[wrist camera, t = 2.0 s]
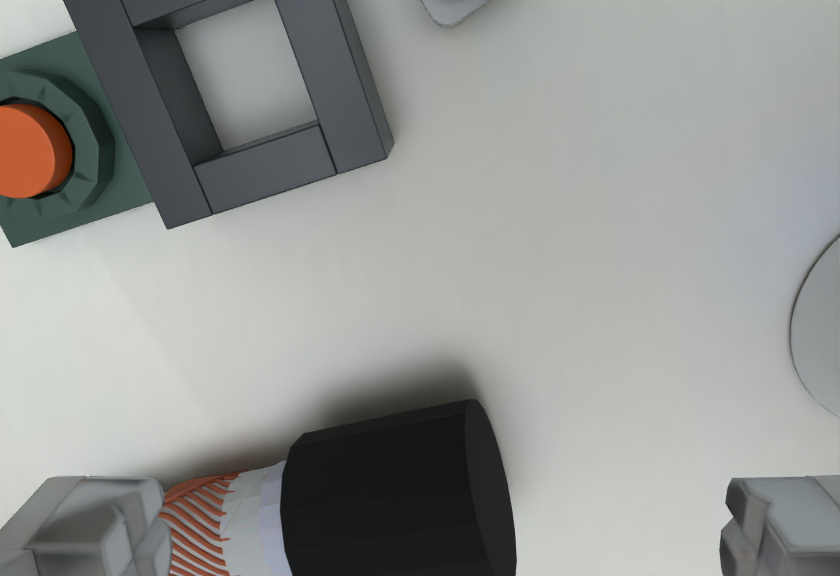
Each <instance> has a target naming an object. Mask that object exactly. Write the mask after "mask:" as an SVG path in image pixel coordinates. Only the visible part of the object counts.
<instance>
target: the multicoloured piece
mask: <svg viewBox="0 0 840 576" xmlns="http://www.w3.org/2000/svg"><path fill="white" fill-rule="evenodd" d="M164 497H165V502H166V503H165V504H164V506H163V508H162V509H161V511H160V513H159V514H158V516H159V517H160V518H161V519H162V520H163V521H164V522H165V523H166V524H167V525H168V526H169V527H170V530H171V536H172V542H173V557H172V564H171V568H170V572H169V576H515V575H516V564H517V557H516V540H515V528H514V520H513V513H512V506H511V501H510V495H509V490H508V484H507V479H506V475H505V471H504V467H503V463H502V459H501V455H500V451H499V448H498V445H497V442H496V439H495V436H494V433H493V430H492V427H491V424H490V421H489V419H488V417H487V415H486V413H485V411H484V409H483V407H482V406H481V405H480V403H479V402H478V400H477V399H466V400H461V401H457V402H452V403H447V404H442V405H438V406H433V407H428V408H423V409H418V410H414V411H409V412H404V413H399V414H394V415H390V416H385V417H380V418H375V419H370V420H366V421H361V422H356V423H351V424H347V425H342V426H337V427H332V428H327V429H323V430H318V431H313V432H308V433H304V434H303V435H302V436H301V437H300V438H299V439H298V440H297V441H296V442H295V443H294V444H293V445H292V446H291V448H290V451H289V454H288V457H287V460H285V461H280V462H279V463H277V464H276V465H274V466H270V467H266V468H261V469H257V470H252V471H250V470H246V471H240V472H233V473H230V474H226V475H219V476H207V477H200V478H195V479H190V480H187V481H184V482H182V483H179V484H177V485H174V486H173V487H172V488H171V489H170V490H169V491H168V492H166V493H164Z"/></svg>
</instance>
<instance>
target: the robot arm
mask: <svg viewBox="0 0 840 576" xmlns="http://www.w3.org/2000/svg"><path fill="white" fill-rule="evenodd" d="M791 350H792V356H793V361H794V364H795V367H796V370H797V372H798V375H799V377H800V379H801V381H802V383H803V384H804V386H805V387H806V389H807V390H808V392H809V393H810V394H811V395H812V396H813V398H814V399H815V400H816V401H817V402H818V403H819V404H821V405H822V406H823V407H824V408H825V409H827V410H828V411H830V412H831V413H833V414H834V415H836V416H838V417H840V237H839V238H838V239H837V240H836V241H835V242H834V243H833V244H832V245H831V246H830V247H829V248H828V249H827V250H826V251H825V253H824V254H823V255H822V256H821V257H820V259H819V260H818V262H817V263H816V264H815V266H814V267H813V269H812V270H811V272H810V273H809V275H808V277H807V279H806V281H805V282H804V284H803V286H802V289H801V291H800V293H799V296H798V299H797V301H796V305H795V308H794V312H793V317H792V323H791ZM165 503H166V502H165V497H164V493H163V488H162V484H161V482H159V481H158V480H157V479H156V478H155V477H109V476H89V477H86V476H56V477H52V478H49V479H47V480H46V481H45V482H44V483H43V484H42V485H41V486H40V487H39V488H38V490H37V491H36V492H35V493H34V494H33V495H32V496H31V497H30V498H29V499H28V500H27V501H26V502H25V504H24V505H23V506H22V507H21V508H20V509H19V510H18V511H17V512H16V513H15V514H14V515H13V516H12V518H11V519H10V520H9V521H8V522H7V523H6V524H5V525H4V526H3V527H2V528H1V529H0V576H169V572H170V568H171V564H172V557H173V542H172V536H171V530H170V527H169V526H168V525H167V524H166V523H165V522H164V521H163V520H162V519H161V518H160V517H159V516H158V514H159V513H160V511H161V509H162V508H163V506H164V504H165ZM725 503H726V505H727V507H728V508H729V510H730V512H731V514H732V515H733V518H732V519H731V520H730V521H729V523H728V524H727V525H726V526H725V527H724V528H723V529H722V530H721V539H720V549H719V551H720V560H721V569H722V573H723V576H840V475H821V476H806V477H759V478H732V480H731V482H730V484H729V486H728V489H727V495H726V502H725Z"/></svg>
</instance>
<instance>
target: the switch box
mask: <svg viewBox="0 0 840 576" xmlns="http://www.w3.org/2000/svg"><path fill="white" fill-rule="evenodd" d="M18 103H22V104H30V105H33V106H37V107H39V108H41V109H43V110H45V111H47V112H48V113H49V114H51V115H52V116H53V117H54V118H55V119H57V121H58V122H59V123H60V124H61V125H62V127H63V128H64V129H65V131H66V133H67V135H68V137H69V140H70V143H71V146H72V157H73V158H72V165H71V169H70V171H69V173H68V175H67V177H66V178H65V179H64V181H63V182H62V183H61V184H59V185H58V186H57V187H55V188H53V189H51V190H48V191H45V192H43V193H40V194H37V195H34V196H32V197H28V198H11V197H7V196H3V195H1V194H0V226H1V227H2V229H3V231H4V233H5V235H6V237H7V239H8V241H9V242H10V244H11V246H12V248H15V247H18V246H21V245H24V244H27V243H30V242H33V241H36V240H39V239H42V238H45V237H48V236H51V235H54V234H57V233H60V232H63V231H66V230H69V229H72V228H75V227H78V226H81V225H84V224H87V223H90V222H93V221H96V220H99V219H102V218H105V217H108V216H111V215H115V214H118V213H121V212H124V211H127V210H130V209H133V208H136V207H139V206H142V205H145V204H148V203H151V202H154V200H153V198H152V195H151V193H150V191H149V189H148V187H147V184H146V182H145V180H144V178H143V176H142V173H141V171H140V169H139V167H138V165H137V162H136V160H135V158H134V156H133V154H132V151H131V149H130V147H129V145H128V143H127V140H126V138H125V136H124V134H123V131H122V129H121V127H120V125H119V123H118V120H117V118H116V116H115V114H114V112H113V109H112V107H111V105H110V103H109V101H108V98H107V96H106V94H105V92H104V90H103V87H102V85H101V83H100V81H99V79H98V76H97V74H96V72H95V70H94V68H93V65H92V63H91V61H90V59H89V57H88V54H87V52H86V50H85V48H84V46H83V43H82V41H81V39H80V37H79V34H78V32H77V31H75V32H72V33H70V34H67V35H64V36H61V37H59V38H56V39H53V40H51V41H48V42H45V43H43V44H40V45H37V46H35V47H32V48H29V49H27V50H24V51H21V52H19V53H16V54H13V55H11V56H8V57H5V58H3V59H0V106H3V105H10V104H18Z"/></svg>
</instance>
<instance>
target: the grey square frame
mask: <svg viewBox="0 0 840 576" xmlns="http://www.w3.org/2000/svg"><path fill="white" fill-rule="evenodd" d="M63 1H64V4H65V6H66V8H67V10H68V12H69V15H70V17H71V19H72V21H73V23H74V26H75V28H76V30H77V32H78V34H79V37H80V39H81V41H82V43H83V46H84V48H85V50H86V52H87V54H88V57H89V59H90V61H91V63H92V65H93V68H94V70H95V72H96V74H97V76H98V79H99V81H100V83H101V85H102V87H103V90H104V92H105V94H106V96H107V98H108V101H109V103H110V105H111V107H112V109H113V112H114V114H115V116H116V118H117V120H118V123H119V125H120V127H121V129H122V131H123V134H124V136H125V138H126V140H127V143H128V145H129V147H130V149H131V151H132V154H133V156H134V158H135V160H136V162H137V165H138V167H139V169H140V171H141V173H142V176H143V178H144V180H145V182H146V184H147V187H148V189H149V191H150V193H151V195H152V198H153V200H154V202H155V204H156V206H157V209H158V211H159V213H160V215H161V217H162V220H163V222H164V224H165V226H166V229H172V228H175V227H178V226H181V225H184V224H187V223H190V222H193V221H196V220H200V219H203V218H206V217H209V216H212V215H213V214H218V213H221V212H224V211H227V210H230V209H233V208H236V207H240V206H243V205H246V204H249V203H252V202H255V201H258V200H261V199H264V198H267V197H270V196H273V195H277V194H280V193H283V192H286V191H289V190H292V189H295V188H298V187H301V186H304V185H307V184H311V183H314V182H317V181H320V180H323V179H326V178H329V177H332V176H335V175H337V174H342V173H345V172H348V171H351V170H354V169H357V168H360V167H363V166H366V165H369V164H372V163H376V162H379V161H382V160H385V159H387V157H388V155H389V154H390V152H391V150H392V148H393V146H394V140H393V137H392V134H391V131H390V128H389V125H388V122H387V119H386V116H385V113H384V110H383V107H382V104H381V101H380V98H379V95H378V92H377V89H376V86H375V83H374V80H373V77H372V74H371V71H370V68H369V65H368V62H367V59H366V56H365V53H364V50H363V47H362V44H361V41H360V38H359V35H358V32H357V29H356V26H355V23H354V20H353V17H352V14H351V11H350V8H349V5H348V2H347V0H275V2H276V5H277V8H278V11H279V13H280V16H281V19H282V22H283V25H284V27H285V30H286V33H287V36H288V38H289V41H290V44H291V47H292V49H293V52H294V55H295V58H296V60H297V63H298V66H299V69H300V71H301V74H302V77H303V80H304V82H305V85H306V88H307V91H308V93H309V96H310V99H311V102H312V104H313V107H314V110H315V113H316V115H317V118H318V120H315V121H312V122H309V123H306V124H303V125H300V126H297V127H294V128H291V129H288V130H285V131H282V132H279V133H276V134H273V135H270V136H267V137H264V138H261V139H258V140H255V141H252V142H249V143H246V144H243V145H240V146H238V147H235V148H232V149H229V150H226V151H223V150H222V147H221V145H220V142H219V140H218V137H217V135H216V133H215V130H214V128H213V125H212V123H211V120H210V118H209V116H208V113H207V111H206V108H205V106H204V103H203V101H202V99H201V96H200V94H199V91H198V89H197V86H196V84H195V82H194V79H193V77H192V74H191V72H190V69H189V67H188V65H187V62H186V60H185V57H184V55H183V52H182V50H181V48H180V45H179V43H178V40H177V38H176V35H175V33H174V31H173V29H177V28H179V27H182V26H185V25H188V24H190V23H193V22H196V21H198V20H201V19H204V18H207V17H209V16H212V15H215V14H218V13H220V12H223V11H226V10H228V9H231V8H234V7H237V6H239V5H242V4H245V3H248V2H250V1H253V0H63Z"/></svg>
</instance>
